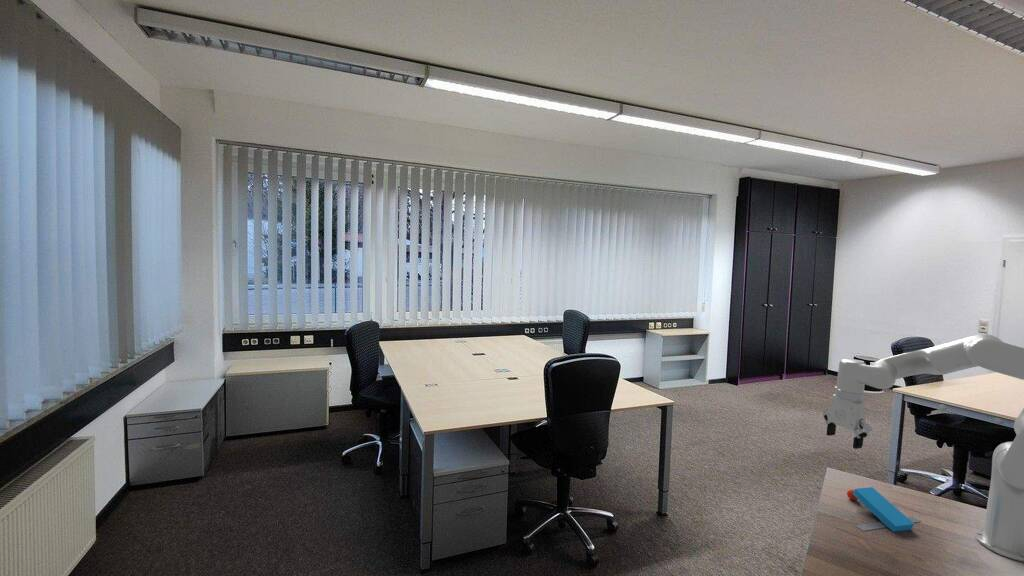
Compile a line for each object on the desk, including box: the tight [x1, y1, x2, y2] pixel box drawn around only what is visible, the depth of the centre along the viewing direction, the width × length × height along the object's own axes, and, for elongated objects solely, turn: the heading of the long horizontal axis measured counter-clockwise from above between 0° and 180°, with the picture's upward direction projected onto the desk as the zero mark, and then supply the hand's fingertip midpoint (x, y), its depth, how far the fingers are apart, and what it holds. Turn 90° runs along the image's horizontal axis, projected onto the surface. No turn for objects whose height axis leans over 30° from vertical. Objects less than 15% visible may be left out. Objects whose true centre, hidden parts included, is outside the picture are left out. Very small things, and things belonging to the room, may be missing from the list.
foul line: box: [855, 516, 922, 532], centre depth 137 cm, size 23×2×1 cm, turn 102°
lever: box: [846, 486, 915, 532], centre depth 142 cm, size 7×7×18 cm
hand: (843, 441), depth 152 cm, fingers open, 9 cm apart
